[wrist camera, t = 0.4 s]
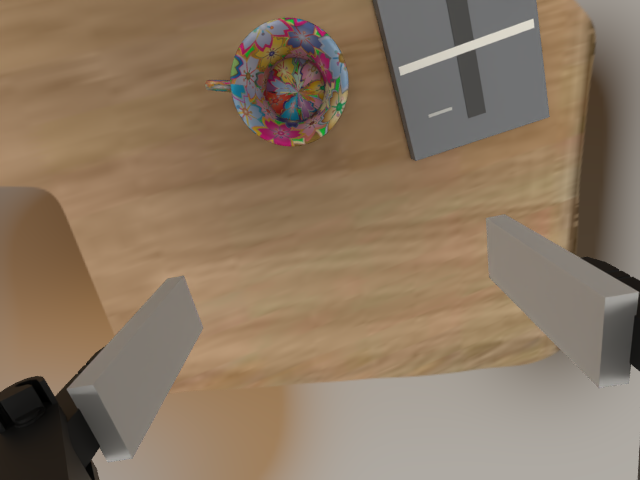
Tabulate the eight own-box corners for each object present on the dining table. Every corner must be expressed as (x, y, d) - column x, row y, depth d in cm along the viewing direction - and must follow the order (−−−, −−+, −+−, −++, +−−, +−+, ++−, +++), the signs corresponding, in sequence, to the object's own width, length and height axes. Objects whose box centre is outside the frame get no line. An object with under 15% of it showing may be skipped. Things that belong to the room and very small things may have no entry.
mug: (344, 44, 36) (351, 18, 26) (340, 138, 40) (345, 148, 30) (226, 41, 36) (189, 14, 26) (231, 136, 40) (200, 144, 30)
